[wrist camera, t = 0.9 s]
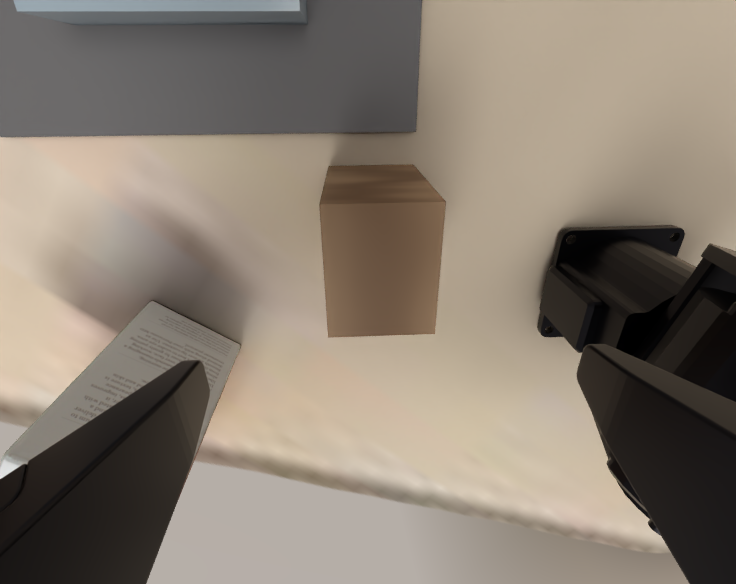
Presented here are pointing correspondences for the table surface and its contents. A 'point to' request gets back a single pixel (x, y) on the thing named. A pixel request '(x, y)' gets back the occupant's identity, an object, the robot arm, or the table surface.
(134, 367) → the small box
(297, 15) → the tray
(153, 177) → the table surface
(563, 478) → the table surface
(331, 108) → the coaster
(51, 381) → the table surface
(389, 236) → the short wooden block
